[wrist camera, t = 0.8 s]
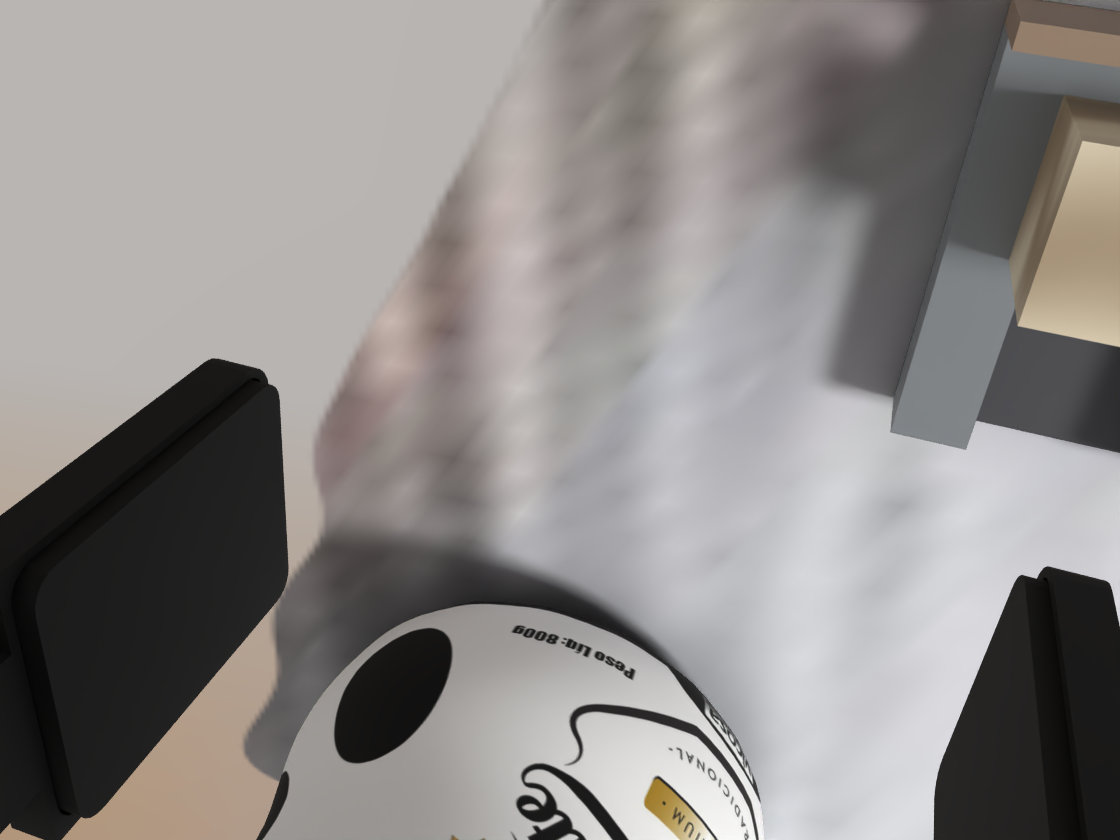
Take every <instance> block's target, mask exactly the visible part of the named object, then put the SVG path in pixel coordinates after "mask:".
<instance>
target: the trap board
mask: <svg viewBox="0 0 1120 840" xmlns="http://www.w3.org/2000/svg"><path fill="white" fill-rule="evenodd" d="M1064 95H1069V96H1075V97H1082V98H1088V99H1094V100H1100V101H1107V102H1113V103H1119V104H1120V12H1118V11H1111V10H1104V9H1097V8H1090V7H1083V6H1076V5H1069V4H1062V3H1055V2H1048V1H1041V0H1011V3H1010V6H1009V10H1008V13H1007V17H1006V20H1005V23H1004V27H1003V30H1002V33H1001V37H1000V40H999V44H998V47H997V50H996V54H995V57H994V61H993V64H992V67H991V71H990V74H989V77H988V81H987V84H986V88H985V91H984V94H983V98H982V101H981V105H980V108H979V111H978V115H977V118H976V121H975V125H974V128H973V132H972V135H971V138H970V142H969V145H968V148H967V152H966V155H965V159H964V162H963V165H962V169H961V172H960V176H959V179H958V182H957V186H956V189H955V192H954V196H953V199H952V203H951V206H950V209H949V213H948V216H947V220H946V223H945V226H944V230H943V233H942V236H941V240H940V243H939V247H938V250H937V253H936V257H935V260H934V264H933V267H932V270H931V274H930V277H929V280H928V284H927V287H926V291H925V294H924V297H923V301H922V304H921V308H920V311H919V314H918V318H917V321H916V324H915V328H914V331H913V335H912V338H911V341H910V345H909V348H908V352H907V355H906V358H905V362H904V365H903V368H902V372H901V375H900V379H899V382H898V385H897V389H896V392H895V396H894V399H893V410H892V421H891V433H896V434H900V435H904V436H909V437H913V438H917V439H922V440H926V441H930V442H935V443H939V444H943V445H948V446H952V447H956V448H961V449H965V450H966V448H967V445H968V442H969V439H970V436H971V434H972V431H973V428H974V425H975V422H976V421H980V422H985V423H989V424H994V425H998V426H1003V427H1007V428H1012V429H1016V430H1020V431H1025V432H1029V433H1034V434H1038V435H1043V436H1047V437H1052V438H1056V439H1060V440H1065V441H1069V442H1074V443H1078V444H1083V445H1087V446H1092V447H1096V448H1100V449H1105V450H1109V451H1114V452H1118V453H1120V347H1117V346H1113V345H1108V344H1103V343H1098V342H1093V341H1088V340H1083V339H1078V338H1074V337H1069V336H1064V335H1059V334H1054V333H1049V332H1044V331H1040V330H1035V329H1030V328H1025V327H1020V326H1018V325H1017V318H1016V310H1015V303H1014V295H1013V288H1012V280H1011V273H1010V265H1009V258H1010V255H1011V252H1012V249H1013V246H1014V243H1015V240H1016V237H1017V234H1018V231H1019V228H1020V225H1021V222H1022V219H1023V216H1024V213H1025V210H1026V207H1027V204H1028V201H1029V198H1030V195H1031V192H1032V189H1033V186H1034V183H1035V180H1036V177H1037V174H1038V171H1039V168H1040V165H1041V162H1042V159H1043V156H1044V153H1045V150H1046V147H1047V144H1048V141H1049V138H1050V135H1051V132H1052V129H1053V126H1054V123H1055V120H1056V117H1057V114H1058V111H1059V108H1060V105H1061V102H1062V100H1063V97H1064Z"/></svg>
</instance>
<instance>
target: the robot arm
mask: <svg viewBox="0 0 1120 840" xmlns="http://www.w3.org/2000/svg"><path fill="white" fill-rule="evenodd" d="M287 577H288V550H287V532H286V512H285V493H284V474H283V455H282V438H281V417H280V400H279V393H278V391H277V389H276V387H274V386H273V385H269V384H268V380H267V377H266V375H265V373H264V372H263V371H261V370H260V369H257V368H253V367H249V366H245V365H241V364H237V363H233V362H229V361H225V360H221V359H210V360H208V361H206V362H204V363H203V364H202V365H200V366H199V367H198V368H196V369H195V370H194V371H192V372H191V373H190V374H188V375H187V376H186V377H184V378H183V379H182V380H180V381H179V382H178V383H176V384H175V385H174V386H172V387H171V388H170V389H168V390H167V391H166V392H165V393H163V394H162V395H160V396H159V397H158V398H156V399H155V400H154V401H152V402H151V403H150V404H148V405H147V406H146V407H144V408H143V409H142V410H140V411H139V412H138V413H136V414H135V415H134V416H133V417H131V418H130V419H128V420H127V421H126V422H125V423H123V424H122V425H120V426H119V427H118V428H116V429H115V430H114V431H112V432H111V433H110V434H109V435H107V436H106V437H104V438H103V439H102V440H100V441H99V442H98V443H96V444H95V445H94V446H93V447H91V448H90V449H88V450H87V451H86V452H85V453H83V454H82V455H80V456H79V457H78V458H77V459H75V460H74V461H73V462H71V463H70V464H69V465H67V466H66V467H65V468H63V469H62V470H61V471H59V472H58V473H57V474H55V475H54V476H53V477H51V478H50V479H49V480H47V481H46V482H45V483H43V484H42V485H41V486H39V487H38V488H37V489H35V490H34V491H33V492H31V493H30V494H29V495H27V496H26V497H25V498H23V499H22V500H21V501H19V502H18V503H17V504H15V505H14V506H13V507H11V508H10V509H9V510H7V511H6V512H5V513H3V514H2V515H1V516H0V834H1V832H2V831H3V830H4V829H5V828H6V827H7V826H8V825H9V824H10V823H11V826H12V828H14V829H16V830H19V831H22V832H25V833H27V834H30V835H33V836H36V837H38V838H41V839H43V840H62V838H63V837H64V836H65V835H66V834H67V833H68V831H69V830H70V829H71V828H72V827H73V826H74V825H75V823H76V822H77V821H78V820H79V819H80V817H83V818H91V817H92V816H94V815H96V814H97V813H98V812H99V811H100V810H101V809H102V808H103V807H104V806H105V805H106V804H107V803H108V802H109V800H110V799H111V798H112V797H113V796H114V794H115V793H116V792H117V791H118V790H119V788H120V787H121V786H122V785H123V784H124V783H125V781H126V780H127V779H128V778H129V777H130V775H131V774H132V773H133V772H134V771H135V770H136V768H137V767H138V766H139V765H140V763H141V762H142V761H143V760H144V759H145V758H146V756H147V755H148V754H149V753H150V751H152V749H153V748H154V747H155V746H156V744H157V743H158V742H159V741H160V740H161V739H162V737H163V736H164V735H165V734H166V733H167V731H168V730H169V729H170V728H171V727H172V725H173V724H174V723H175V722H176V721H177V720H178V718H179V717H180V716H181V715H182V714H183V712H184V711H185V710H186V709H187V708H188V706H189V705H190V704H191V703H192V702H193V701H194V699H195V698H196V697H197V696H198V695H199V693H200V692H201V691H202V690H203V689H204V687H205V686H206V685H207V684H208V683H209V682H210V680H211V679H212V678H213V677H214V676H215V674H216V673H217V672H218V671H219V670H220V669H221V667H222V666H223V665H224V664H225V663H226V661H227V660H228V659H229V658H230V657H231V655H232V654H233V653H234V652H235V651H236V649H237V648H238V647H239V646H240V645H241V644H242V642H243V641H244V640H245V639H246V638H247V636H248V635H249V634H250V633H251V632H252V630H253V629H254V628H255V627H256V626H257V625H258V623H259V622H260V621H261V620H262V619H263V617H264V616H265V615H266V614H267V613H268V612H269V610H270V609H271V608H272V607H273V606H274V604H275V603H276V602H277V601H278V599H279V598H280V596H281V594H282V592H283V590H284V588H285V585H286V582H287ZM934 840H1120V626H1119V621H1118V616H1117V612H1116V607H1115V602H1114V597H1113V592H1112V589H1111V586H1110V583H1108V582H1107V581H1104V580H1100V579H1096V578H1092V577H1088V576H1084V575H1080V574H1076V573H1072V572H1068V571H1064V570H1060V569H1056V568H1052V567H1048V566H1047V567H1045V568H1043V570H1042V571H1041V572H1040V574H1039V576H1038V578H1037V579H1036V578H1032V577H1028V576H1024V575H1020V576H1019V577H1018V578H1017V580H1016V581H1015V583H1014V585H1013V587H1012V590H1011V592H1010V595H1009V597H1008V600H1007V602H1006V605H1005V607H1004V609H1003V612H1002V614H1001V617H1000V619H999V622H998V624H997V627H996V629H995V632H994V634H993V636H992V639H991V641H990V644H989V646H988V649H987V651H986V654H985V656H984V658H983V661H982V663H981V666H980V668H979V671H978V673H977V676H976V678H975V680H974V683H973V685H972V688H971V690H970V693H969V695H968V698H967V700H966V703H965V705H964V707H963V710H962V712H961V715H960V717H959V720H958V722H957V725H956V727H955V729H954V732H953V734H952V737H951V739H950V742H949V744H948V747H947V749H946V751H945V754H944V756H943V759H942V762H941V765H940V768H939V772H938V776H937V781H936V787H935V797H934Z"/></svg>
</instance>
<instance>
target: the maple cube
mask: <svg viewBox="0 0 1120 840" xmlns="http://www.w3.org/2000/svg"><path fill="white" fill-rule="evenodd" d="M1009 265H1010V273H1011V280H1012V288H1013V295H1014V303H1015V310H1016V318H1017V325H1018V326H1020V327H1025V328H1030V329H1035V330H1040V331H1044V332H1049V333H1054V334H1059V335H1064V336H1069V337H1074V338H1078V339H1083V340H1088V341H1093V342H1098V343H1103V344H1108V345H1113V346H1117V347H1120V104H1119V103H1113V102H1107V101H1100V100H1094V99H1088V98H1082V97H1075V96H1069V95H1064V97H1063V100H1062V102H1061V105H1060V108H1059V111H1058V114H1057V117H1056V120H1055V123H1054V126H1053V129H1052V132H1051V135H1050V138H1049V141H1048V144H1047V147H1046V150H1045V153H1044V156H1043V159H1042V162H1041V165H1040V168H1039V171H1038V174H1037V177H1036V180H1035V183H1034V186H1033V189H1032V192H1031V195H1030V198H1029V201H1028V204H1027V207H1026V210H1025V213H1024V216H1023V219H1022V222H1021V225H1020V228H1019V231H1018V234H1017V237H1016V240H1015V243H1014V246H1013V249H1012V252H1011V255H1010V258H1009Z"/></svg>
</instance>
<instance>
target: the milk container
mask: <svg viewBox="0 0 1120 840" xmlns="http://www.w3.org/2000/svg"><path fill="white" fill-rule="evenodd" d="M256 840H764V829H763V818H762V809H761V802H760V797H759V793H758V789H757V785H756V782H755V780H754V777H753V774H752V772H751V769H750V767H749V764H748V762H747V760H746V758H745V755H744V753H743V751H742V749H741V746H740V744H739V742H738V740H737V739H736V737H735V735H734V734H733V732H732V731H731V729H730V728H729V726H728V725H727V724H726V723H725V721H724V720H723V719H722V717H721V716H720V715H719V714H718V712H717V711H716V710H715V709H714V707H713V706H712V705H711V703H710V702H709V701H708V700H707V698H706V697H705V696H704V695H703V694H702V693H701V692H700V691H699V690H698V689H697V687H696V686H695V685H694V684H693V683H692V682H690V681H689V680H688V679H687V678H686V677H684V676H683V675H682V674H681V673H680V672H678V671H677V670H676V669H674V668H673V667H671V666H670V665H669V664H667V663H666V662H664V661H663V660H662V659H660V658H659V657H657V656H656V655H655V654H653V653H652V652H650V651H649V650H647V649H646V648H645V647H643V646H641V645H640V644H638V643H636V642H635V641H633V640H631V639H630V638H628V637H626V636H624V635H622V634H620V633H618V632H615V631H613V630H611V629H609V628H606V627H603V626H601V625H598V624H596V623H593V622H590V621H588V620H585V619H582V618H579V617H577V616H574V615H571V614H568V613H565V612H561V611H558V610H555V609H551V608H545V607H539V606H533V605H522V604H511V603H498V602H475V603H468V604H462V605H457V606H453V607H449V608H445V609H441V610H438V611H434V612H430V613H427V614H424V615H421V616H418V617H416V618H413V619H411V620H408V621H406V622H404V623H402V624H400V625H398V626H396V627H394V628H393V629H391V630H389V631H388V632H386V633H385V634H384V635H382V636H381V637H379V638H378V639H377V640H376V641H375V642H373V643H372V644H371V645H370V646H369V647H367V648H366V649H365V650H364V651H363V652H362V653H361V654H360V655H359V656H358V657H356V658H355V659H354V660H353V661H352V662H351V663H350V664H349V665H348V666H347V667H346V668H345V669H344V670H343V671H342V672H341V673H340V674H339V675H338V676H337V677H336V678H335V680H334V681H333V682H332V683H331V684H330V685H329V687H328V688H327V689H326V690H325V691H324V693H323V694H322V695H321V697H320V698H319V700H318V701H317V702H316V704H315V705H314V706H313V708H312V710H311V711H310V713H309V715H308V716H307V718H306V720H305V721H304V723H303V725H302V727H301V729H300V730H299V732H298V734H297V736H296V739H295V741H294V743H293V745H292V748H291V750H290V753H289V756H288V758H287V761H286V764H285V766H284V769H283V773H282V776H281V779H280V782H279V785H278V788H277V791H276V794H275V798H274V801H273V804H272V807H271V810H270V812H269V815H268V817H267V820H266V822H265V825H264V826H263V828H262V830H261V832H260V834H259V836H258V838H257V839H256Z"/></svg>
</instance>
